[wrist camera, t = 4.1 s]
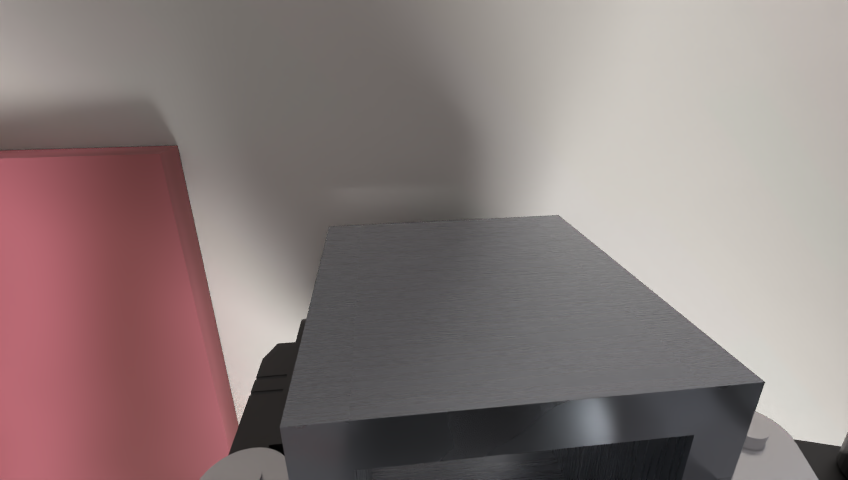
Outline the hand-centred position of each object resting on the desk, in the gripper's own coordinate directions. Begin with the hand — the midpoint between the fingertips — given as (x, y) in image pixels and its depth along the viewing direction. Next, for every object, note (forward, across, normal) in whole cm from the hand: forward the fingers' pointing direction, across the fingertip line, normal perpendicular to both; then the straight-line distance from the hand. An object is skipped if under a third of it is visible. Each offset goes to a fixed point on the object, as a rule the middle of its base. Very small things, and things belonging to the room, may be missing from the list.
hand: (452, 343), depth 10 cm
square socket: (+1, 0, 0) cm, 1 cm away
